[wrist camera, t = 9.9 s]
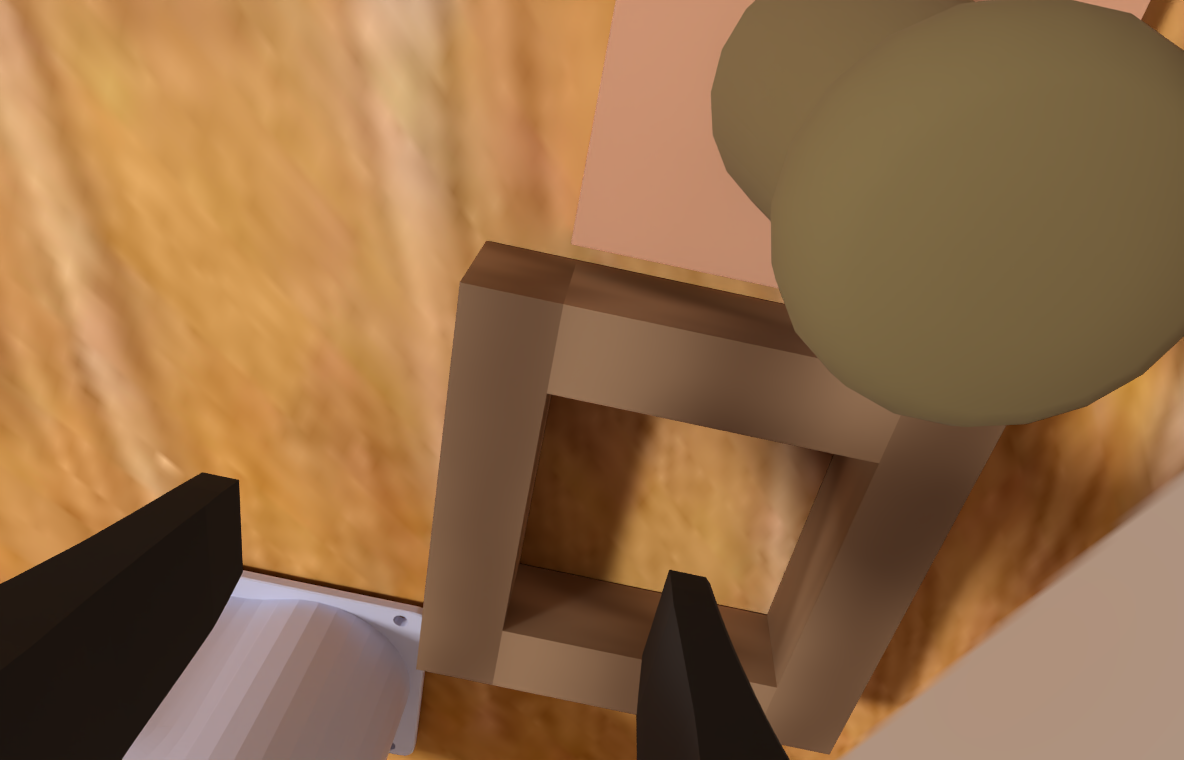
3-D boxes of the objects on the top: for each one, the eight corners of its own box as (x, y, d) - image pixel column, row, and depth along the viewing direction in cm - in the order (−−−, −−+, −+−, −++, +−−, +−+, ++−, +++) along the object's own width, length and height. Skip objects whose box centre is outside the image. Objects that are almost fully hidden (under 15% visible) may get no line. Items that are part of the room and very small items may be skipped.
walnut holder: (440, 601, 28) (415, 669, 25) (486, 240, 21) (460, 282, 19) (814, 678, 28) (829, 754, 25) (977, 345, 21) (1019, 400, 19)
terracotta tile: (574, 233, 21) (571, 244, 20) (671, -292, 16) (671, -303, 15) (977, 320, 21) (987, 332, 20) (1212, -172, 16) (1237, -178, 15)
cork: (850, -121, 16) (1115, -220, 6) (1044, 78, 17) (1499, 242, 8) (656, 119, 19) (636, 306, 9) (838, 275, 20) (990, 580, 10)
